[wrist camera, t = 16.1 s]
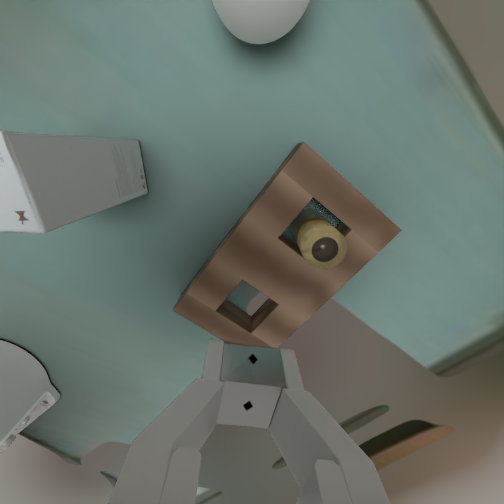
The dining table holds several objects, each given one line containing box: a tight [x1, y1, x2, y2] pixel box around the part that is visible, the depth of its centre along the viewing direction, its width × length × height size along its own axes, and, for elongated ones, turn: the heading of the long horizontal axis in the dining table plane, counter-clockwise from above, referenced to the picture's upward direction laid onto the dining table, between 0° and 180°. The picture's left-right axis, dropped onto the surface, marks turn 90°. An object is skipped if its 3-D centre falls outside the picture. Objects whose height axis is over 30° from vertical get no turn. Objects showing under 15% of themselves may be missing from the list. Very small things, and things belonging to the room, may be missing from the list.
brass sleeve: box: [290, 209, 347, 270], centre depth 25 cm, size 4×4×8 cm
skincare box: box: [0, 130, 148, 233], centre depth 20 cm, size 8×6×15 cm
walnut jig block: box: [173, 142, 401, 348], centre depth 29 cm, size 24×14×4 cm, turn 142°
